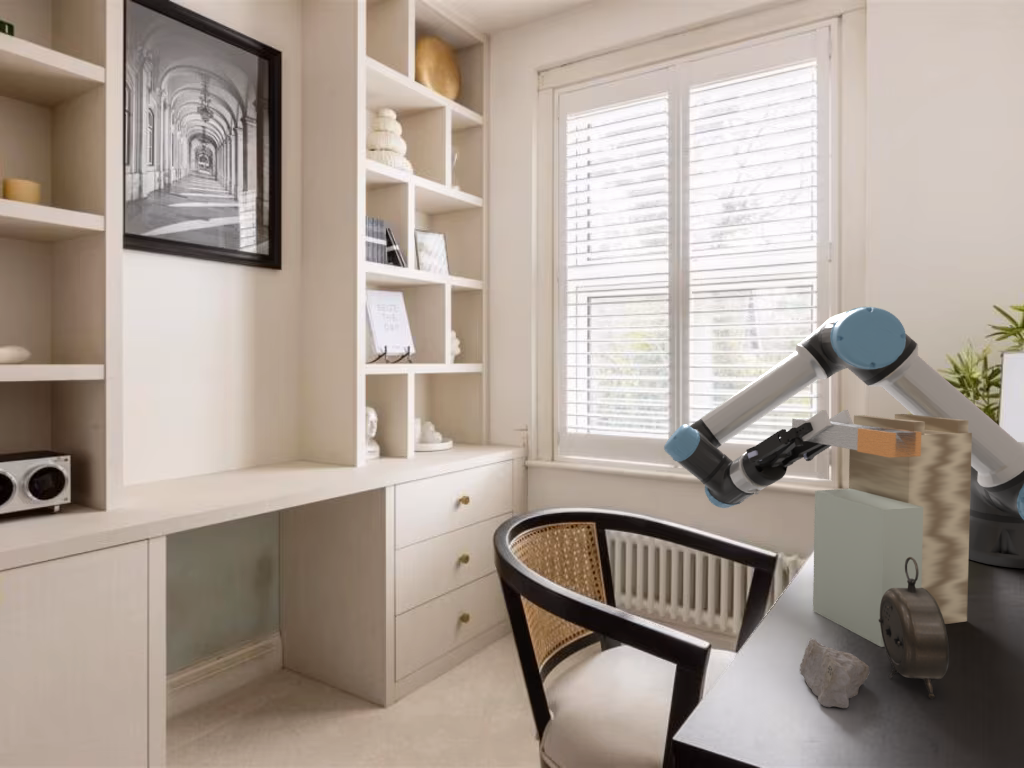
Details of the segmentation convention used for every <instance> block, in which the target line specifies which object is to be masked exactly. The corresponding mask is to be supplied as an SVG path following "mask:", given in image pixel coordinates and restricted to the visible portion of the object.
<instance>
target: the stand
mask: <svg viewBox="0 0 1024 768" xmlns="http://www.w3.org/2000/svg"><path fill="white" fill-rule="evenodd" d="M853 424H857V425H864V426H872V427H880V428H894V429H901V430H909V431H917V432H921V456H914V457H884V456H879V455H873V454H868V453H862V452H857V450H853V449H849V460H848V462H849V463H848V468H849V469H848V489H850V488H851V489H855V490H859V491H863V492H866V493H870V494H874V495H878V496H882V497H886V498H890V499H894V500H898V501H902V502H906V503H910V504H914V505H918V506H922V507H923V540H922V583H921V588H924V589H926V590H927V591H928V592H930V593H931V595H932V596H933V597H934V598H935V600H936V602H937V604H938V606H939V608H940V611H941V613H942V616H943V619H944V622H945V625H948V624H956V623H964V622H967V621H968V595H969V594H968V590H969V560H970V559H969V522H970V484H971V446H972V433H969V432H968V420H960V419H950V418H940V417H930V416H920V415H913V414H911V413H910V414H908V413H895V414H894V417H885V416H874V415H865V414H860V415H859V414H858V415H857V414H855V415H853Z"/></svg>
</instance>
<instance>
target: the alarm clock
mask: <svg viewBox="0 0 1024 768" xmlns="http://www.w3.org/2000/svg"><path fill="white" fill-rule="evenodd" d="M910 559H911V560H913V562H914V564H915V569H916V577H915V580H914V579H912V578H909V575H908V571H907V564H908V561H909V560H910ZM905 573H906V576H907V579H908V580H907V582H908V588H891V589H889V590H887V591H886V592H885V593H884V595H883V597H882V600H881V604H880V619H879V622H880V626H881V633H882V638H883V642H884V646H885V647H884V649H885V651H886V655H887V656H888V658H889V661H890V664H891V667H892V668H891V671H890V673H889V676H888V678H889V679H892V678H893V677H894V675H895V674H896V673H899V674H900V675H901V676H902V677H905V678H907V679H908V678H909V679H922V680H923V681H924V684H925V687H926V690H927V692H928V695H927V696H928V698H929V699H931V700H932V699H935V695H934V688H933V686H934V685H933V683H932V680H942V679H943V678H944V677H945V675H946V674H947V672H948V668H949V664H950V644H949V637H948V632H947V627H946V624H945V622H944V619H943V616H942V613H941V611H940V608H939V606H938V604H937V602H936V600H935V598H934V597H933V596H932V595H931V593H930V592H928V591H927V590H926V589H924V588H916V587H915V584H916V581H917V579H918V574H919V571H918V565H917V562H916V560H915V559H914V558H913V557H908V558H907V559H906V561H905Z"/></svg>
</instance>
